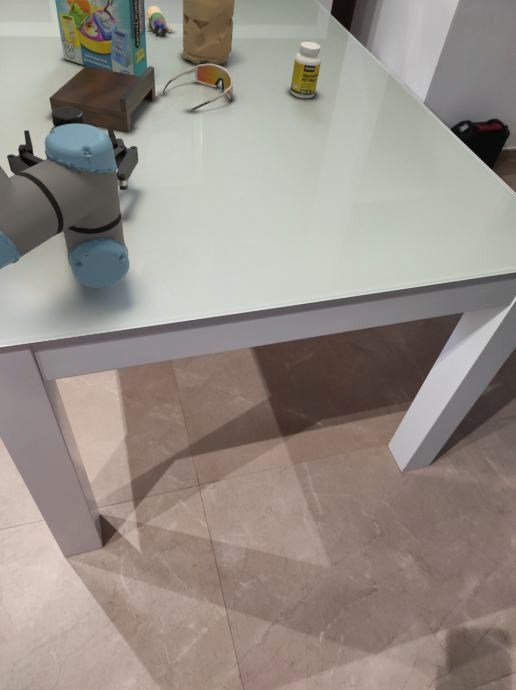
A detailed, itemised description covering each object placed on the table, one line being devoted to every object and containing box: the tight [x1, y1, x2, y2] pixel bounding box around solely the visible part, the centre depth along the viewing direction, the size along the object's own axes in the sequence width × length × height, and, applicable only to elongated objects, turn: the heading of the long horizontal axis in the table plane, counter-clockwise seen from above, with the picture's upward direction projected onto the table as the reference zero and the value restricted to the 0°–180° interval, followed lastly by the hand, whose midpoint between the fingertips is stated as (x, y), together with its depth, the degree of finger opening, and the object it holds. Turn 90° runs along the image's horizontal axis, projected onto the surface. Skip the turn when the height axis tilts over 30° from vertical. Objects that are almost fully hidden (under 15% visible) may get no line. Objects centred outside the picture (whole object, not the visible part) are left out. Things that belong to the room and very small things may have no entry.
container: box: [182, 0, 236, 65], centre depth 128 cm, size 13×13×18 cm
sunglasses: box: [160, 62, 234, 112], centre depth 118 cm, size 14×15×5 cm
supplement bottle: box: [49, 106, 85, 132], centre depth 87 cm, size 7×7×12 cm
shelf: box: [49, 65, 156, 133], centre depth 108 cm, size 16×18×6 cm
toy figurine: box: [145, 5, 173, 38], centre depth 144 cm, size 8×4×12 cm
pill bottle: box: [289, 41, 322, 99], centre depth 123 cm, size 6×6×11 cm
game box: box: [54, 0, 148, 76], centre depth 115 cm, size 20×6×27 cm, turn 65°
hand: (70, 135), depth 88 cm, fingers open, 13 cm apart
